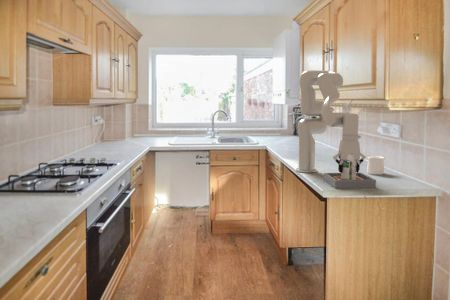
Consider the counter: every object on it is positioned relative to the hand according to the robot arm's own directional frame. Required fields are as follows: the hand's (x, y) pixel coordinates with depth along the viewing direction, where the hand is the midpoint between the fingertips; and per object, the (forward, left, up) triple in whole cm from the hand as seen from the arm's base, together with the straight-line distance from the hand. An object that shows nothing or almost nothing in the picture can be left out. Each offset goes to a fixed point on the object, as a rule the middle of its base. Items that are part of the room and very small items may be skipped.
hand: (348, 171), depth 210 cm
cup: (-28, +25, -7) cm, 38 cm away
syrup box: (0, 0, -5) cm, 5 cm away
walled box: (0, 0, -6) cm, 6 cm away
